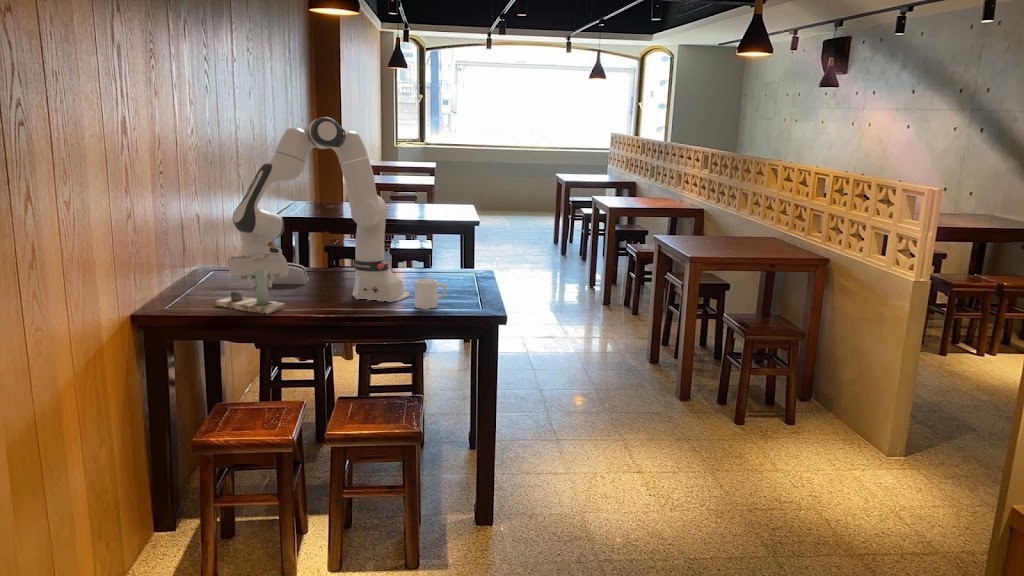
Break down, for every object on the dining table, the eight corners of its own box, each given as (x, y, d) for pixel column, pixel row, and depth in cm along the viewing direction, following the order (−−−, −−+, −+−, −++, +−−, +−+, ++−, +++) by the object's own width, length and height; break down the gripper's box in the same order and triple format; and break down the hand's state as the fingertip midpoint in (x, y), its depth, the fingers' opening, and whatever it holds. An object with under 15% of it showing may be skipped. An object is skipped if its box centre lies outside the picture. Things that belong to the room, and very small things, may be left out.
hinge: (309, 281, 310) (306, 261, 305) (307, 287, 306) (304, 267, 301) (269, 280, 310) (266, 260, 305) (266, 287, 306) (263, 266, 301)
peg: (270, 303, 266) (269, 271, 263) (263, 305, 262) (261, 272, 260) (262, 302, 267) (260, 269, 265) (254, 304, 264) (252, 271, 261)
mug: (445, 310, 270) (445, 284, 268) (413, 308, 271) (412, 282, 269) (448, 304, 278) (448, 279, 276) (417, 303, 279) (417, 278, 277)
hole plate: (284, 308, 267) (284, 295, 266) (267, 314, 259) (267, 300, 258) (233, 300, 276) (232, 287, 275) (215, 305, 268) (214, 292, 267)
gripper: (226, 252, 262) (231, 284, 256) (285, 248, 271) (291, 280, 265) (226, 262, 267) (230, 294, 261) (284, 258, 276) (290, 289, 270)
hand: (262, 287), depth 263 cm, fingers closed on peg, 4 cm apart
